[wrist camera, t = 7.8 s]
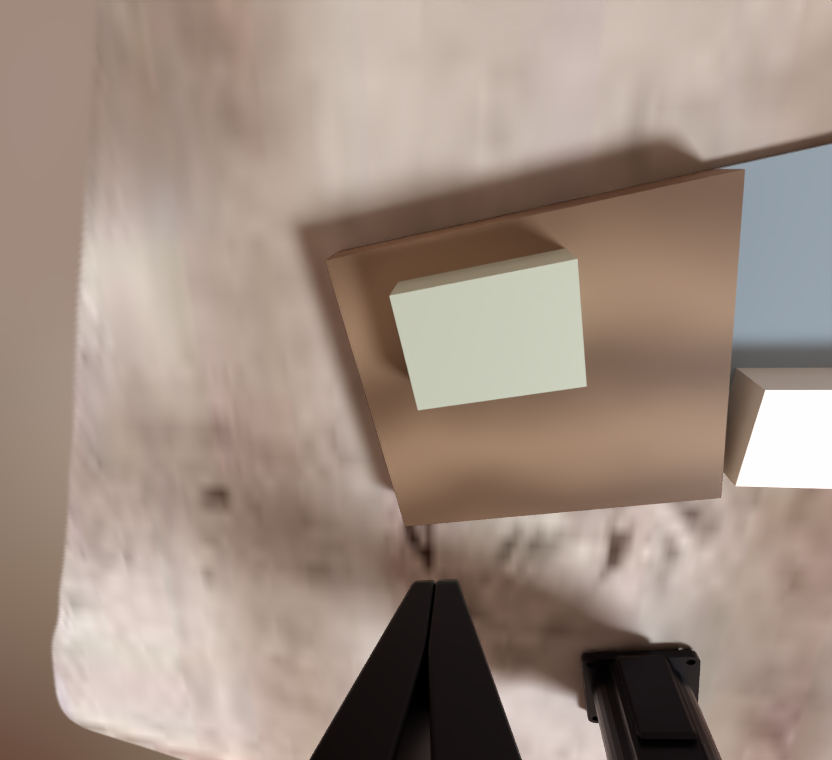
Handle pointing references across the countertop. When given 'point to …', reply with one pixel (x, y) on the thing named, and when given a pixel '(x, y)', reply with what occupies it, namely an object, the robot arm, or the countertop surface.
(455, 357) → the sage green cuboid
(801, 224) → the slate mat
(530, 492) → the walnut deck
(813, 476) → the cream rectangular block
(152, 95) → the countertop surface
